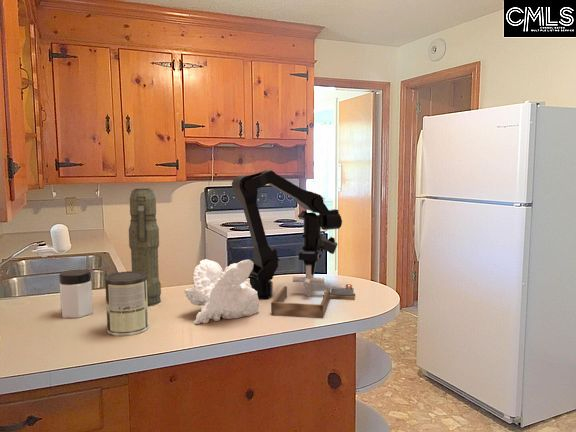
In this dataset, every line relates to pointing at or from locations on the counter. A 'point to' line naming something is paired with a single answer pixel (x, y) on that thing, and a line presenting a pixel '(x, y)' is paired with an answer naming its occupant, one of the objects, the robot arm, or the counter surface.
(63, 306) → the jar
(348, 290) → the pin
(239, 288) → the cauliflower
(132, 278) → the coffee can
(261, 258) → the robot arm
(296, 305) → the dock cradle
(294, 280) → the pipe connector
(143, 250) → the thermos
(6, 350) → the counter surface
